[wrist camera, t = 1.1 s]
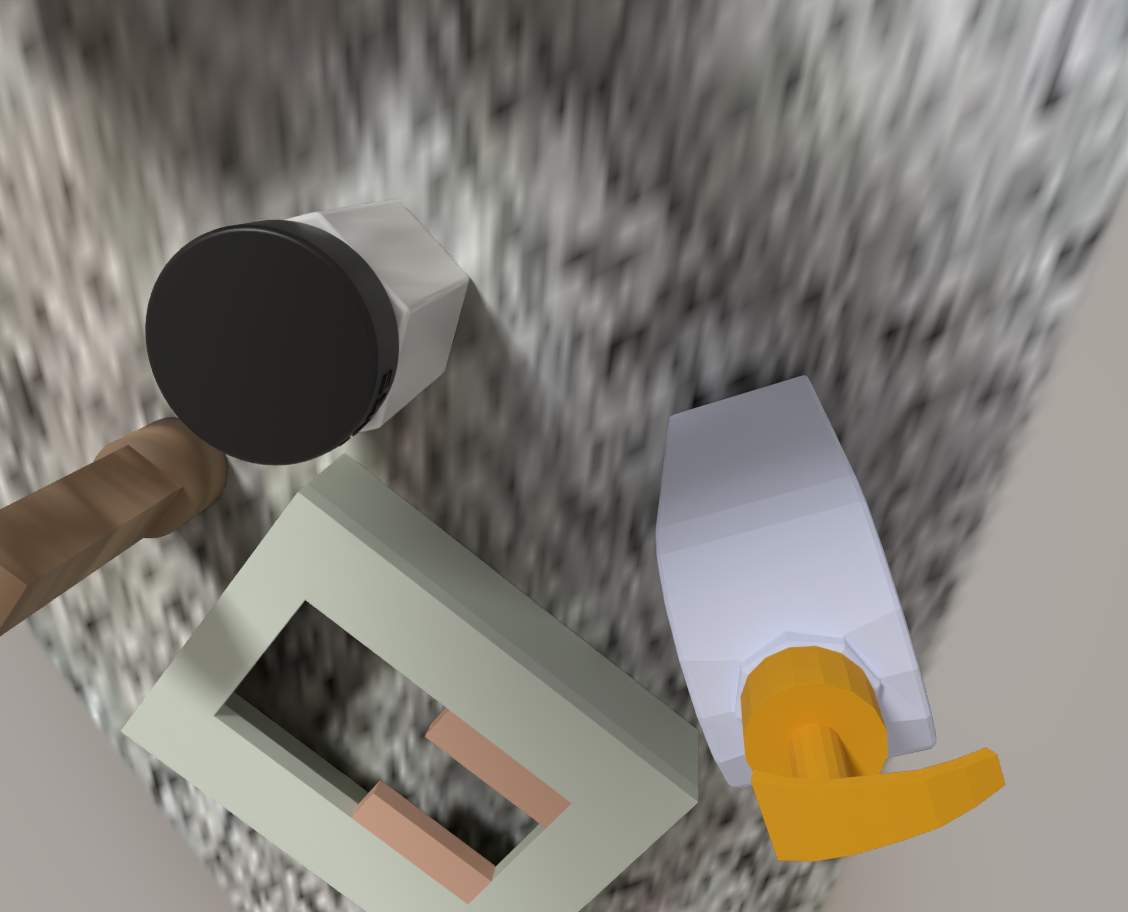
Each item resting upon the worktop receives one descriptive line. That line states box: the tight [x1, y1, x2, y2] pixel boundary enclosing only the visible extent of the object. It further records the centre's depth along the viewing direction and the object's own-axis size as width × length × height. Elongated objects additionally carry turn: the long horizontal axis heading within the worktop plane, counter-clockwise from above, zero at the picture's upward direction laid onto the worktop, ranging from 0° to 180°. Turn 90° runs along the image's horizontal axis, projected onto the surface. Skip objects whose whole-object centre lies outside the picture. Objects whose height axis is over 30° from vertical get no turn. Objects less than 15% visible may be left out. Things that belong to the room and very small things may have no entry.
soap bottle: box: [655, 375, 1005, 861], centre depth 32 cm, size 9×7×23 cm
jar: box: [145, 200, 469, 465], centre depth 37 cm, size 9×8×12 cm
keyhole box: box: [121, 453, 699, 912], centre depth 46 cm, size 22×16×6 cm
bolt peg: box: [0, 417, 227, 636], centre depth 40 cm, size 5×5×14 cm
